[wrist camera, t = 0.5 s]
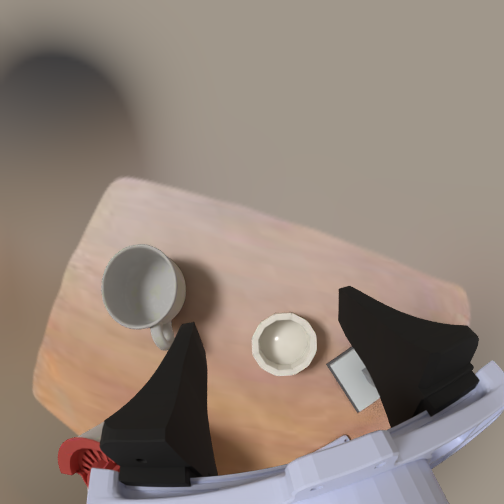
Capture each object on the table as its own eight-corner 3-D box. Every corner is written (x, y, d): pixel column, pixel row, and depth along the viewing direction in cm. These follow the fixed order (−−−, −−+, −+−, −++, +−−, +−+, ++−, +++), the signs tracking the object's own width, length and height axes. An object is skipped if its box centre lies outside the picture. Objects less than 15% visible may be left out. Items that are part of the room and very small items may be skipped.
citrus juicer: (97, 410, 37) (18, 447, 17) (177, 388, 37) (105, 442, 17) (138, 481, 34) (84, 539, 14) (222, 468, 34) (189, 551, 14)
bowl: (323, 348, 36) (328, 353, 33) (274, 378, 36) (273, 386, 32) (292, 301, 38) (294, 301, 34) (243, 332, 38) (239, 335, 34)
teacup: (124, 265, 41) (95, 256, 33) (185, 245, 41) (165, 232, 33) (142, 352, 38) (115, 360, 31) (208, 338, 38) (191, 346, 30)
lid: (407, 374, 34) (419, 380, 30) (358, 410, 34) (366, 420, 30) (381, 327, 36) (391, 330, 32) (329, 365, 36) (335, 371, 32)
